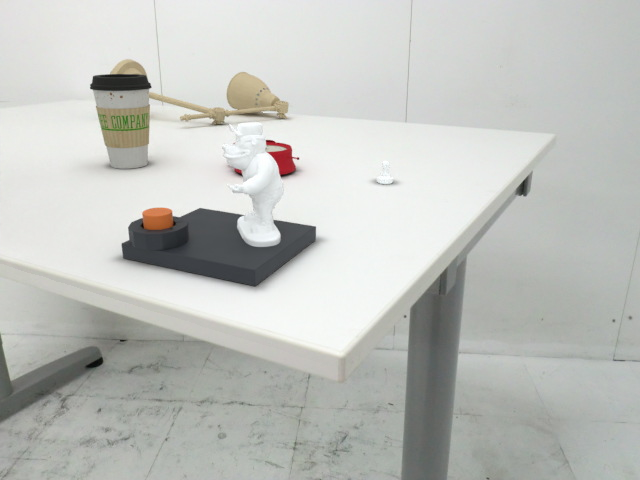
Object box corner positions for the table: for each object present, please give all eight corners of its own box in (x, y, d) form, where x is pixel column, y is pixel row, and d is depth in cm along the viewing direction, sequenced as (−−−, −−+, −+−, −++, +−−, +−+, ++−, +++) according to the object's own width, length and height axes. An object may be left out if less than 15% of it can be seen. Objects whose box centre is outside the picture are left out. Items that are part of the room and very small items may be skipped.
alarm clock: (249, 159, 88) (218, 123, 99) (246, 195, 91) (218, 156, 102) (309, 154, 93) (273, 120, 104) (305, 188, 96) (271, 152, 107)
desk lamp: (97, 65, 137) (242, 104, 127) (181, 43, 166) (305, 73, 155) (101, 124, 145) (238, 165, 134) (181, 93, 173) (299, 125, 162)
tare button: (137, 229, 59) (136, 213, 58) (156, 221, 61) (155, 205, 61) (161, 234, 58) (159, 217, 57) (179, 225, 60) (178, 209, 60)
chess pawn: (389, 185, 89) (390, 163, 88) (374, 182, 90) (375, 161, 89) (395, 181, 92) (396, 160, 90) (380, 179, 93) (381, 158, 91)
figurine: (218, 222, 66) (213, 117, 62) (274, 217, 68) (272, 115, 63) (230, 250, 58) (225, 131, 54) (293, 244, 60) (293, 129, 55)
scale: (119, 259, 59) (116, 228, 58) (200, 220, 72) (199, 193, 70) (253, 288, 53) (251, 253, 52) (316, 240, 66) (316, 211, 64)
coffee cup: (90, 170, 95) (78, 77, 90) (112, 157, 104) (102, 73, 99) (148, 171, 95) (139, 78, 90) (165, 159, 104) (158, 74, 99)
